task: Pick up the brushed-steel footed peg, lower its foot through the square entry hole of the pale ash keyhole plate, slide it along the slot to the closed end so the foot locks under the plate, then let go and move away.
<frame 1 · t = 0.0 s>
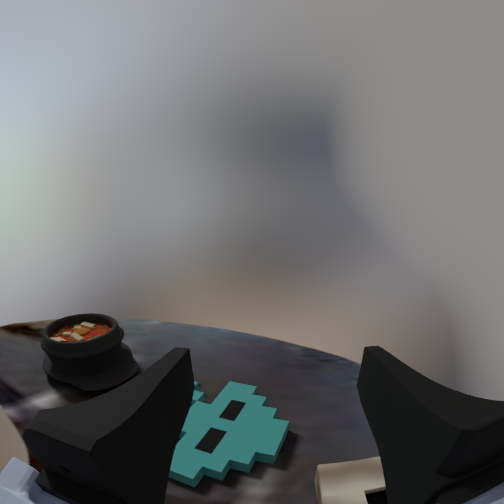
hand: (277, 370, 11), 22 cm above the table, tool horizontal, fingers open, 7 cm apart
casserole: (88, 367, 47), on the table
alien figure: (208, 432, 34), on the table
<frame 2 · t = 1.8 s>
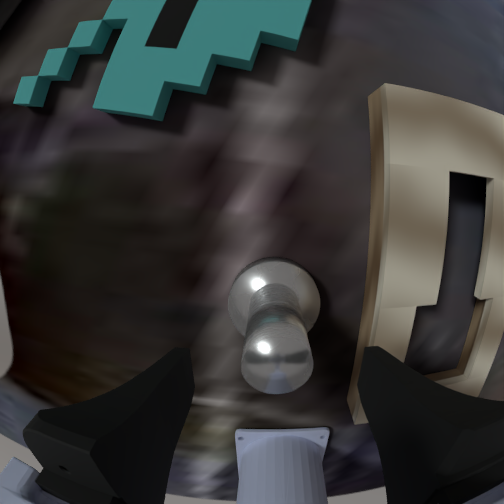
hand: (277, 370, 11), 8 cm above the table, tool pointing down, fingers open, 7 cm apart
peg: (274, 299, 19), on the table
keyhole plate: (441, 266, 18), on the table
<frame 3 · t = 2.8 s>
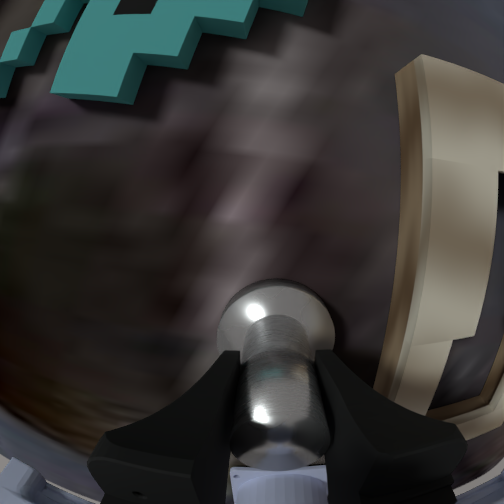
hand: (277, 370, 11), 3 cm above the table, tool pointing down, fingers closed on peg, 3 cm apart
peg: (275, 330, 15), on the table, touching gripper
keyhole plate: (475, 285, 13), on the table
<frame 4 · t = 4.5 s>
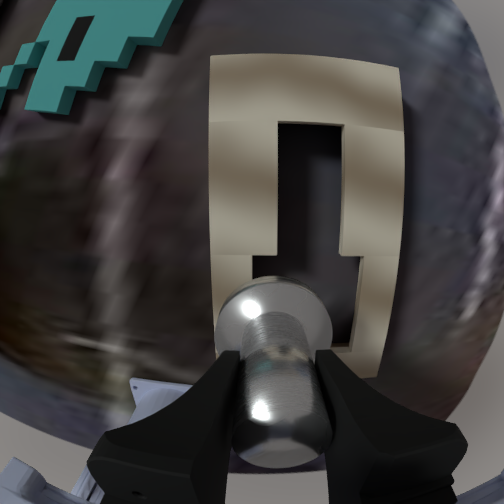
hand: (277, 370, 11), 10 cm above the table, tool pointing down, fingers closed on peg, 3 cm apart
peg: (272, 328, 15), point 7 cm above the table, touching gripper
keyhole plate: (304, 223, 20), on the table
alien figure: (86, 18, 17), on the table
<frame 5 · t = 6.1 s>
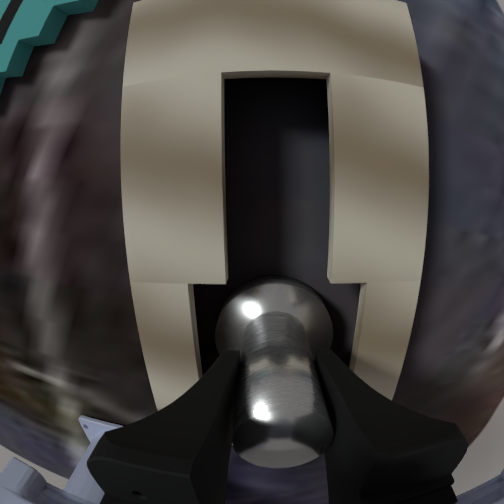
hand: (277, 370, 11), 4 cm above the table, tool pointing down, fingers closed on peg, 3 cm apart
peg: (273, 328, 15), resting in keyhole plate, touching gripper
keyhole plate: (276, 231, 14), on the table
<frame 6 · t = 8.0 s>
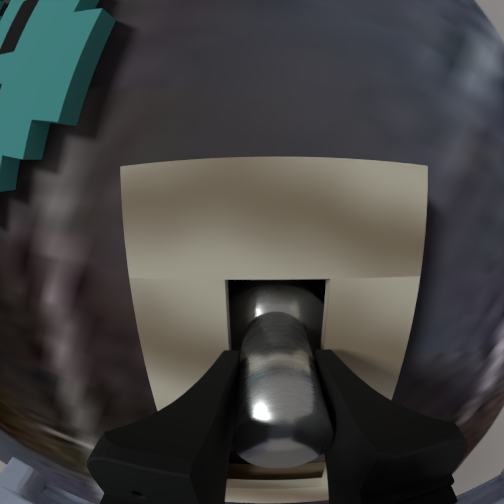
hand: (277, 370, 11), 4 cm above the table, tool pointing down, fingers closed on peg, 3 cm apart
peg: (273, 328, 15), resting in keyhole plate, touching gripper
keyhole plate: (274, 371, 16), on the table
alien figure: (5, 77, 12), on the table
when the fingers open (4 cm above the table, at t = 9.7 s): peg stays where it is, resting in keyhole plate.
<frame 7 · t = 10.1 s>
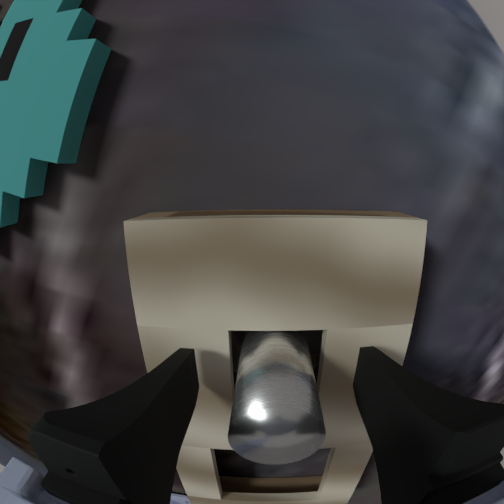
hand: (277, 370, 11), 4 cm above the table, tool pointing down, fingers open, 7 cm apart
peg: (273, 327, 15), resting in keyhole plate
keyhole plate: (273, 399, 16), on the table
alien figure: (1, 102, 13), on the table
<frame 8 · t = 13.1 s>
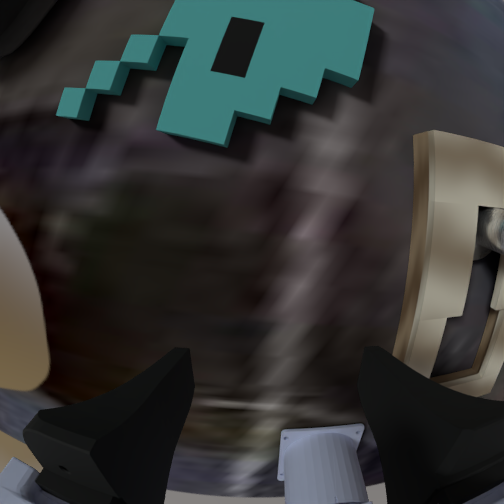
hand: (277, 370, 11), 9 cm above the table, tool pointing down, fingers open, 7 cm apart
peg: (470, 221, 18), resting in keyhole plate
keyhole plate: (463, 282, 20), on the table
casserole: (12, 7, 15), on the table
alien figure: (225, 18, 16), on the table
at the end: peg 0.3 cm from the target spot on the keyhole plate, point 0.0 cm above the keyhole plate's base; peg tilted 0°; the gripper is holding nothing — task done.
